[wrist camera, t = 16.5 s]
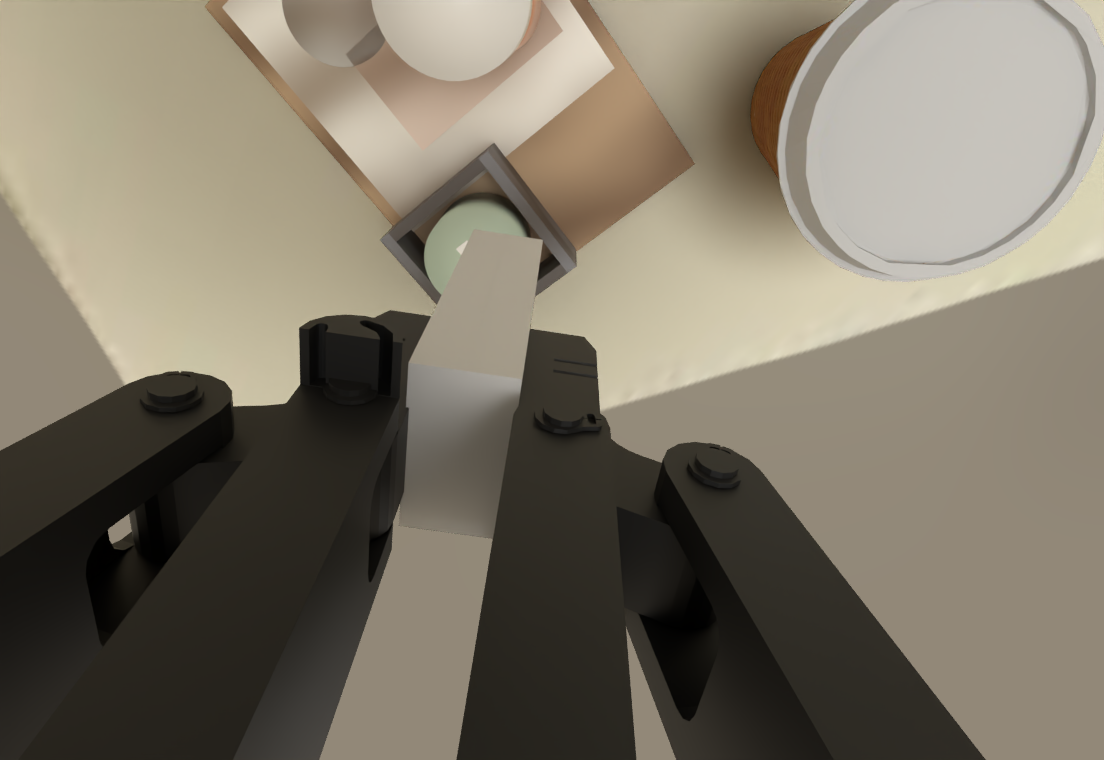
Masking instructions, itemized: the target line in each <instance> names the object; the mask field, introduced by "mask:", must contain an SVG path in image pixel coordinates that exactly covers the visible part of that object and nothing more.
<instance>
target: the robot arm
mask: <svg viewBox="0 0 1104 760" xmlns="http://www.w3.org/2000/svg"><path fill="white" fill-rule="evenodd" d="M542 244H543V240H541V239H534V238H528V237H521V236H515V235H508V234H502V233H495V232H489V231H482V230H476V229H474V230H473V232H472V234H471V236H470V238H469V240H468V242H467V244H466V247H465V249H464V251H463V253H462V255H461V257H460V259H459V261H458V263H457V265H456V267H455V269H454V271H453V273H452V275H451V277H450V279H449V281H448V283H447V285H446V287H445V289H444V291H443V293H442V295H441V297H440V300H439V302H438V304H437V306H436V308H435V310H434V312H433V314H432V316H425V315H418V314H411V313H405V312H398V311H391V310H390V311H388V312H385V313H383V314H381V315H379V316H377V317H375V318H371V317H367V316H357V315H336V316H326V317H322V318H319V319H315V320H311V321H309V322H308V323H306V324H305V325H303V326H301V327H300V328H299V338H300V386H299V387H298V388H297V390H296V391H295V392H294V394H293V395H292V396H291V398H290V399H289V400H288V402H287V403H285V404H278V405H267V406H237V407H233V400H232V390H231V389H230V388H229V387H228V385H227V384H226V383H225V382H224V381H222V380H219V379H217V378H215V377H213V376H210V375H204V374H198V373H194V372H186V371H181V373H179V371H174V372H165V373H163V374H159V375H154V376H148V377H145V378H142V379H140V380H137V381H134V382H132V383H129V384H127V385H125V386H123V387H121V388H119V389H117V390H115V391H113V392H112V393H110V394H108V395H106V396H104V397H102V398H100V399H98V400H96V401H94V402H93V403H91V404H89V405H87V406H85V407H83V408H81V409H79V410H78V411H76V412H74V413H71V414H70V415H68V416H66V417H64V418H62V419H60V420H58V421H56V422H54V423H52V424H50V425H49V426H47V427H45V428H43V429H41V430H39V431H37V432H35V433H33V434H31V435H29V436H28V437H26V438H24V439H22V440H20V441H18V442H16V443H14V444H12V445H10V446H9V447H7V448H5V449H3V450H1V451H0V760H319V758H320V755H321V752H322V749H323V747H324V744H325V741H326V738H327V735H328V732H329V729H330V726H331V723H332V721H333V718H334V715H335V712H336V709H337V706H338V703H339V700H340V697H341V695H342V692H343V689H344V686H345V683H346V680H347V677H348V674H349V671H350V668H351V665H352V662H353V660H354V657H355V654H356V651H357V648H358V645H359V642H360V639H361V636H362V633H363V631H364V627H365V625H366V622H367V619H368V616H369V613H370V610H371V608H372V604H373V601H374V599H375V596H376V593H377V590H378V587H379V584H380V581H381V579H382V576H383V573H384V570H385V567H386V564H387V561H388V558H389V555H390V552H391V549H392V530H393V520H394V518H395V515H396V512H397V509H398V507H399V504H400V517H399V526H404V527H411V528H418V529H426V530H433V531H440V532H448V533H454V534H462V535H470V536H477V537H484V538H492V539H493V541H492V548H491V554H490V560H489V566H488V572H487V578H486V584H485V590H484V596H483V602H482V609H481V614H480V620H479V626H478V633H477V639H476V645H475V651H474V657H473V663H472V670H471V675H470V681H469V687H468V693H467V699H466V706H465V712H464V718H463V724H462V730H461V736H460V742H459V748H458V754H457V760H636V751H635V737H634V725H633V712H632V699H631V687H630V675H629V661H628V649H627V636H626V627H627V630H628V633H629V635H630V638H631V641H632V643H633V646H634V648H635V651H636V654H637V656H638V659H639V662H640V664H641V667H642V670H643V672H644V675H645V678H646V680H647V683H648V685H649V688H650V691H651V694H652V696H653V699H654V701H655V704H656V707H657V710H658V712H659V715H660V718H661V720H662V723H663V726H664V728H665V731H666V733H667V736H668V739H669V741H670V744H671V747H672V749H673V752H674V755H675V757H676V760H985V758H984V757H983V756H982V755H981V753H980V752H979V751H978V749H977V748H976V747H975V746H974V744H973V743H972V742H971V740H970V739H969V738H968V737H967V735H966V734H965V733H964V731H963V730H962V729H961V728H960V726H959V725H958V724H957V722H956V721H955V720H954V719H953V717H952V716H951V715H950V713H949V712H948V711H947V710H946V708H945V707H944V706H943V705H942V703H941V702H940V701H939V699H938V698H937V697H936V695H935V694H934V693H933V692H932V690H931V689H930V688H929V686H928V685H927V684H926V683H925V681H924V680H923V679H922V677H921V676H920V675H919V674H918V672H917V671H916V670H915V668H914V667H913V666H912V665H911V663H910V662H909V661H908V660H907V658H906V657H905V656H904V654H903V653H902V652H901V650H900V649H899V648H898V647H897V645H896V644H895V643H894V641H893V640H892V639H891V638H890V636H889V635H888V634H887V632H886V631H885V630H884V629H883V627H882V626H881V625H880V623H879V622H878V621H877V620H876V618H875V617H874V616H873V614H872V613H871V612H870V611H869V609H868V608H867V607H866V606H865V604H864V603H863V602H862V600H861V599H860V598H859V596H858V595H857V594H856V593H855V591H854V590H853V589H852V587H851V586H850V585H849V584H848V582H847V581H846V580H845V578H844V577H843V576H842V575H841V573H840V572H839V571H838V569H837V568H836V567H835V566H834V565H833V563H832V562H831V560H830V559H829V558H828V557H827V555H826V554H825V553H824V551H823V550H822V549H821V548H820V546H819V545H818V544H817V542H816V541H815V540H814V539H813V538H812V536H811V535H810V533H809V532H808V531H807V530H806V528H805V527H804V526H803V524H802V523H801V522H800V521H799V519H798V518H797V517H796V515H795V514H794V513H793V512H792V510H791V509H790V508H789V507H788V505H787V504H786V503H785V501H784V500H783V499H782V497H781V496H780V495H779V494H778V492H777V491H776V490H775V488H774V487H773V486H772V485H771V483H770V482H769V481H768V479H767V478H766V477H765V476H764V474H763V473H762V472H761V471H760V470H759V469H758V468H757V467H756V466H755V465H754V464H753V463H752V462H751V461H750V460H748V459H746V458H745V457H743V456H741V455H739V454H737V453H736V452H734V451H733V450H731V449H729V448H726V447H720V445H715V444H711V443H708V444H706V443H698V442H691V443H683V444H678V445H676V446H674V447H672V448H670V449H669V450H667V452H666V455H665V457H664V458H663V461H662V463H660V462H657V461H655V460H652V459H649V458H646V457H643V456H640V455H638V454H635V453H633V452H631V451H628V450H627V449H625V448H623V447H622V446H620V445H618V444H617V443H615V442H614V441H613V440H612V439H611V434H610V427H609V425H608V422H607V420H606V418H605V417H604V416H603V415H601V414H600V405H599V389H598V379H597V377H598V373H597V357H596V350H595V349H594V348H593V347H592V345H591V344H590V343H589V342H588V341H587V340H586V339H585V337H581V336H574V335H567V334H561V333H554V332H547V331H540V330H534V329H530V326H531V320H532V313H533V306H534V299H535V292H536V285H537V278H538V271H539V264H540V258H541V251H542ZM128 514H129V517H130V523H131V529H132V532H131V533H129V534H128V535H127V536H125V537H124V538H123V539H122V540H120V541H118V542H116V543H113V544H111V542H110V541H109V535H108V529H109V528H110V527H111V526H113V525H114V524H115V523H117V522H118V521H119V520H121V519H122V518H124V517H125V516H126V515H128Z"/></svg>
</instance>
